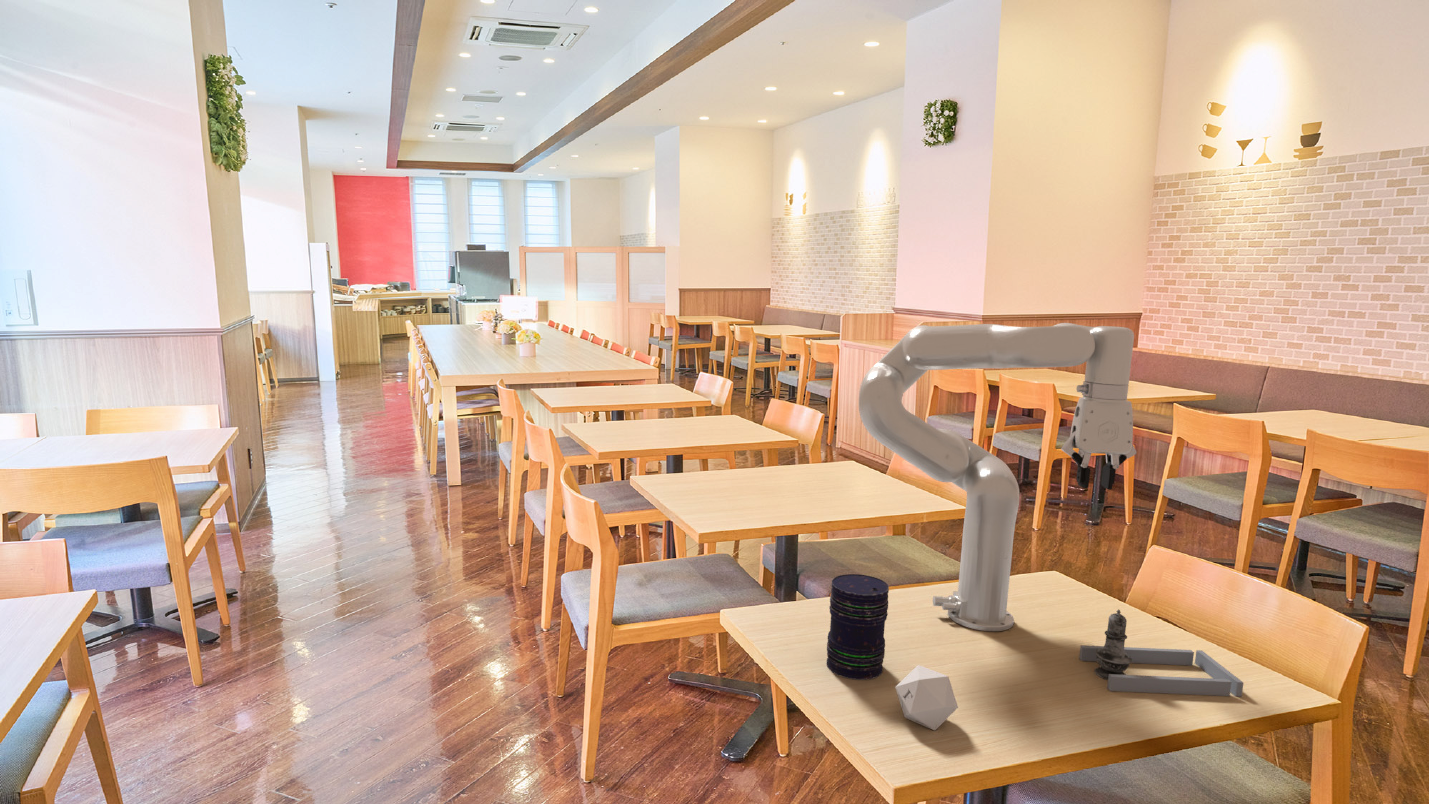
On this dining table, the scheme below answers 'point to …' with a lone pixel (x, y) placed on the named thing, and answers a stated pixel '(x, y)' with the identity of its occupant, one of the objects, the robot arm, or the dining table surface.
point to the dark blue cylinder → (857, 626)
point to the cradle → (1173, 685)
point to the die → (926, 697)
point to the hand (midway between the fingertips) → (1094, 486)
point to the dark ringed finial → (1113, 648)
